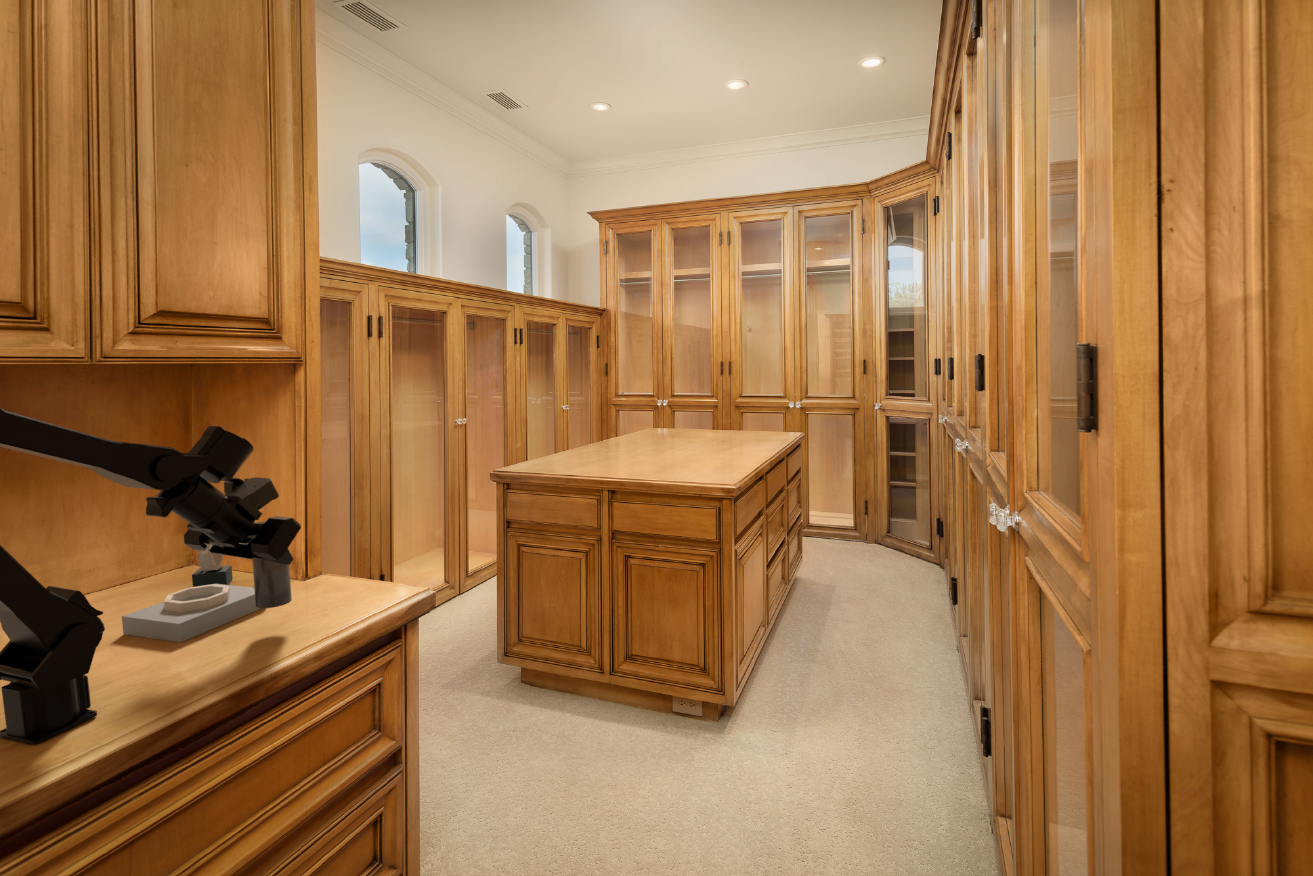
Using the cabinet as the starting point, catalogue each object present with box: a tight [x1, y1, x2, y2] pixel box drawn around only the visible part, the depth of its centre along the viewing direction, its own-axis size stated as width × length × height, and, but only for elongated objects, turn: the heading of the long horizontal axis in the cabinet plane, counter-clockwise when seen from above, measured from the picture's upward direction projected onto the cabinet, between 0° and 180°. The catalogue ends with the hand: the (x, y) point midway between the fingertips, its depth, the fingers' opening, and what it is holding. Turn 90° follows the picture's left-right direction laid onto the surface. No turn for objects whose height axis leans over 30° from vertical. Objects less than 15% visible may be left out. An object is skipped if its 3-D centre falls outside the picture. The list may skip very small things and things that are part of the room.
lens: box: [251, 520, 293, 609], centre depth 102 cm, size 5×5×13 cm
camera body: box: [121, 584, 262, 643], centre depth 108 cm, size 16×12×4 cm
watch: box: [191, 544, 234, 587], centre depth 124 cm, size 6×8×11 cm
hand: (278, 560), depth 104 cm, fingers closed on lens, 5 cm apart
